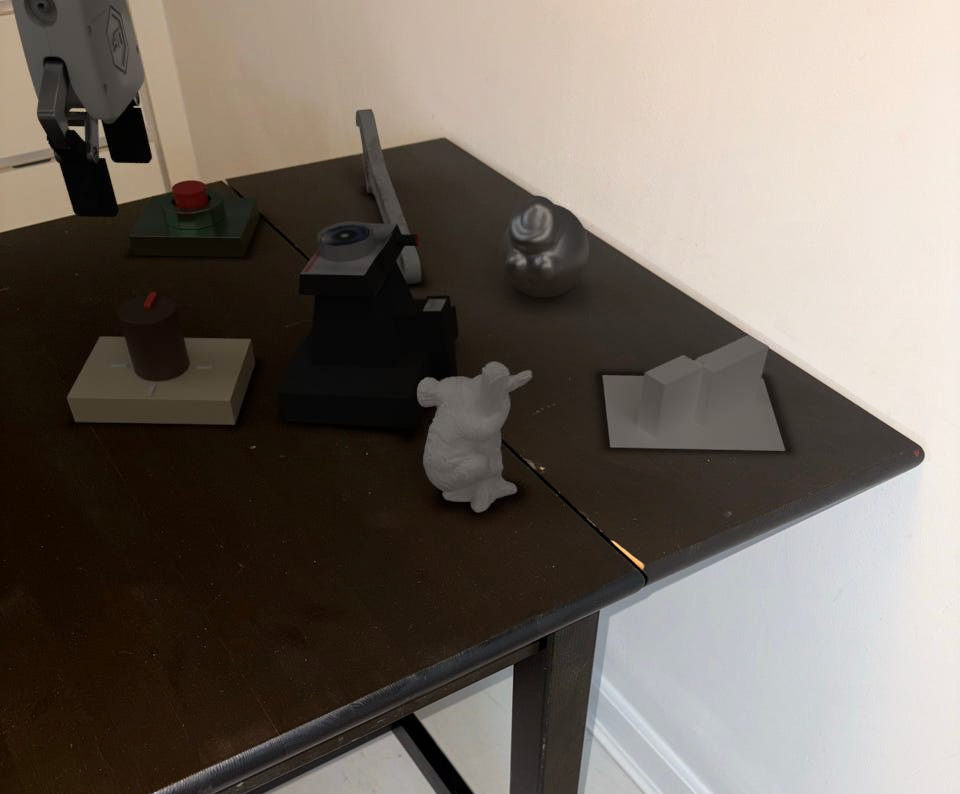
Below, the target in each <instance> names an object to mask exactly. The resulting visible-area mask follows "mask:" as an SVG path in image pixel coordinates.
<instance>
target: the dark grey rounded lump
mask: <svg viewBox="0 0 960 794" xmlns="http://www.w3.org/2000/svg"><path fill="white" fill-rule="evenodd" d="M589 245H590V244H589V239H588V234H587V231H586V229H585V227H584V225H583V224H582V222H581V220H580V219H579V217H577V215H575V213H573V212H572V211H571V210H569V209H567V208H566V207H564V206H561V205H559V204H555V203H554V202H553V201H552V200H550V199H549V198H548V197H545V196H543V195H531V196H529V197H527V198H526V199H524V200H523V201H522V202H521V203H519V204H518V205H517V207H515V208H514V209H513V211H512V213H511V216H510V218H509V221H508V224H507V227H506V228H505V230H504V233H503V236H502V239H501V244H500V260H501V264H502V268H503V271H504V273H505V275H506V277H507V278H508V280H509V281H510V283H511V284H512V285H513V286H514V287H515V288H516V289H518V290H519V291H520V292H522V293H523V294H526V295H527V296H530V297H534V298H537V299H538V298H539V299H549V298H554V297H557V296H560V295H562V294H565V293H566V292H568V291H569V290H570V289H572V288H573V287H574V286H575V285H576V284H577V283H578V282H579V280H580V279H581V277H582V276H583V274H584V273H585V270H586V269H587V268H586V267H587V264H588V261H589V254H590V246H589Z"/></svg>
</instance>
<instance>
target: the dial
mask: <svg viewBox="0 0 960 794" xmlns="http://www.w3.org/2000/svg"><path fill="white" fill-rule="evenodd" d="M117 314H118V320H119V323H120V326H121V329H122V333H123V337H125V340H126V343H127V347H128V350H129V354H130V357H131V361H132V364H133V368H134V371H135V373H136V375H137V376H139V377H140V378H142V379H145V380H149V381H164V380H169V379H173V378H175V377H178V376H180V375H181V374H183V373H184V372H185V371H186V370H187V369H188V367H189V364H190V362H189V357H188V353H187V349H186V345H185V340H184V338H185V336H184V333H183V328H182V324H181V319H180V315H179V312H178V307H177V304H176V302H175V301H174V300H173V299H171V298H169V297H167V296H164V295H158V291H150V292H149V294H148V295H143V296H138V297H134V298H132V299H129V300H128V301H125V302H124V303H123V304H122V305H121V306H120V307H119V309H118V312H117Z"/></svg>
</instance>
